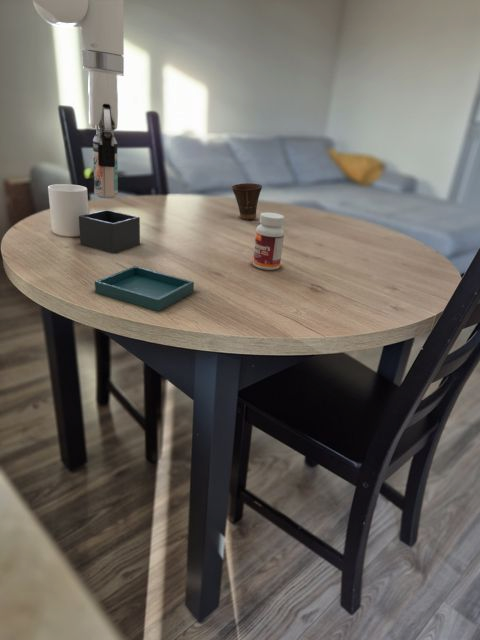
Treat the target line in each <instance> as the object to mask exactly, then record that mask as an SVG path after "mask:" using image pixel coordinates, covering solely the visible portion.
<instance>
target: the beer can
mask: <svg viewBox="0 0 480 640" xmlns="http://www.w3.org/2000/svg"><path fill="white" fill-rule="evenodd" d="M98 145H99V135H97V134H95V135H94V137H93V139H92V154H93V155H92V158H93V160H92V161H93V186H94V189H93V191H94V193H93V194H94V195H96V196H97V197H98V198H101V199H115V198H116V197H117V196H118V194H119V188H118V187H119V182H118V181H119V177H118V176H119V175H118V171H119V170H118V166H119V165H118V142H117V139H116V137H114V146H115V167H104V166H99V164H98Z"/></svg>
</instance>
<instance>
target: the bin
mask: <svg viewBox="0 0 480 640" xmlns="http://www.w3.org/2000/svg"><path fill="white" fill-rule="evenodd" d="M79 229H80V236H79V240H80V243H79V245H81V246H85V247H89V248H92V249H96V250H99V251H100V250H101V251H105V252H108V253H111V254H116V253H118V252H119V253H120V252H123V251H125V250H129V249H131V248H134V247H136V246H140V245H141V218H140V216H137V215H131V214H127V213H122V212H119V211H115V210H110V209H104V210H100V211H95V212H90V213H89V214H85V215H81V216H79Z"/></svg>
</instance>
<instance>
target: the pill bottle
mask: <svg viewBox="0 0 480 640" xmlns="http://www.w3.org/2000/svg"><path fill="white" fill-rule="evenodd" d="M259 223H260V224H258V226H256V230H255V238H254V248H253V256H252V265H253V266H254V267H256V268H257V269H261V270H266V271H273V270H277V269H279V268H280V266H281V260H282V255H283V246H284V239H285V229H284V228H283V226H284V225H285V216H284V215H283V214H279V213H276V212H261V213H260V215H259Z"/></svg>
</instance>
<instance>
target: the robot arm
mask: <svg viewBox="0 0 480 640" xmlns="http://www.w3.org/2000/svg"><path fill="white" fill-rule="evenodd" d="M31 2H32V4H33V7H34V9H35V11H36V12H37V14H38V16H40V17H41V19H42V20H44V21H45V22H46V23H48V24H50V25H52V26H54V27H55V26H56V27H60V28H61V27H63V28H79V29H81V50H82V51H81V52H82V70H83V71H86V72H88V82H87V83H88V85H87V86H88V124H89V125H90V127H91V128H93V129H96V135H99V145H98V164H99V166H104V167H115V146H114V138H115V133H114V132H115V131H116V130H117V129H118V122H119V121H118V120H119V119H118V118H119V81H118V79H119V77H121V76H122V77H124V76H125V75H124V74H125V73H124V72H125V61H124V59H125V56H124V55H125V54H124V53H125V52H124V50H125V49H124V48H125V47H124V45H125V43H124V42H125V41H124V38H125V37H124V0H31ZM118 76H119V77H118Z"/></svg>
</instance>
